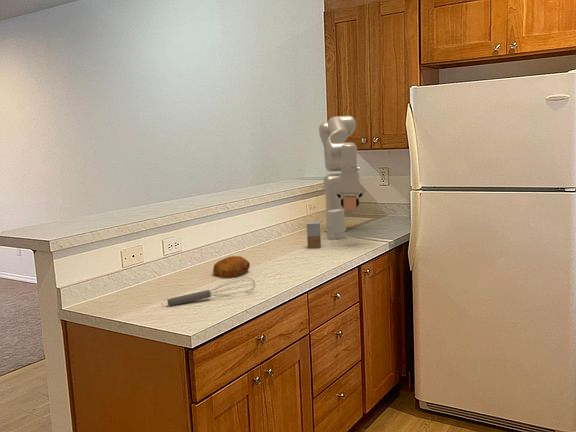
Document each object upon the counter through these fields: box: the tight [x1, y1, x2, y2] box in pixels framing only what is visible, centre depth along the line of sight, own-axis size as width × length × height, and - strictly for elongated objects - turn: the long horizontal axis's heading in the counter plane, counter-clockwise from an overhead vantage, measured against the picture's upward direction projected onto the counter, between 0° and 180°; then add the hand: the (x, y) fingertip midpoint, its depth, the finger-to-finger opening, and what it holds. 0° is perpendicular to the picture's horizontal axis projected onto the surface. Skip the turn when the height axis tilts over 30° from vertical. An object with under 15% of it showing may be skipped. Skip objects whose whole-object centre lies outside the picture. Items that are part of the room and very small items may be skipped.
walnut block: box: [306, 235, 322, 249], centre depth 281 cm, size 6×6×6 cm
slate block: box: [306, 221, 321, 237], centre depth 280 cm, size 6×6×6 cm
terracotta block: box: [343, 195, 357, 211], centre depth 279 cm, size 6×6×6 cm
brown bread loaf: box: [212, 255, 251, 279], centre depth 237 cm, size 14×16×8 cm
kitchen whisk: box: [161, 276, 256, 307], centre depth 202 cm, size 6×34×6 cm, turn 113°
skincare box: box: [325, 209, 346, 241], centre depth 300 cm, size 8×6×15 cm
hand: (350, 206), depth 279 cm, fingers closed on terracotta block, 6 cm apart
